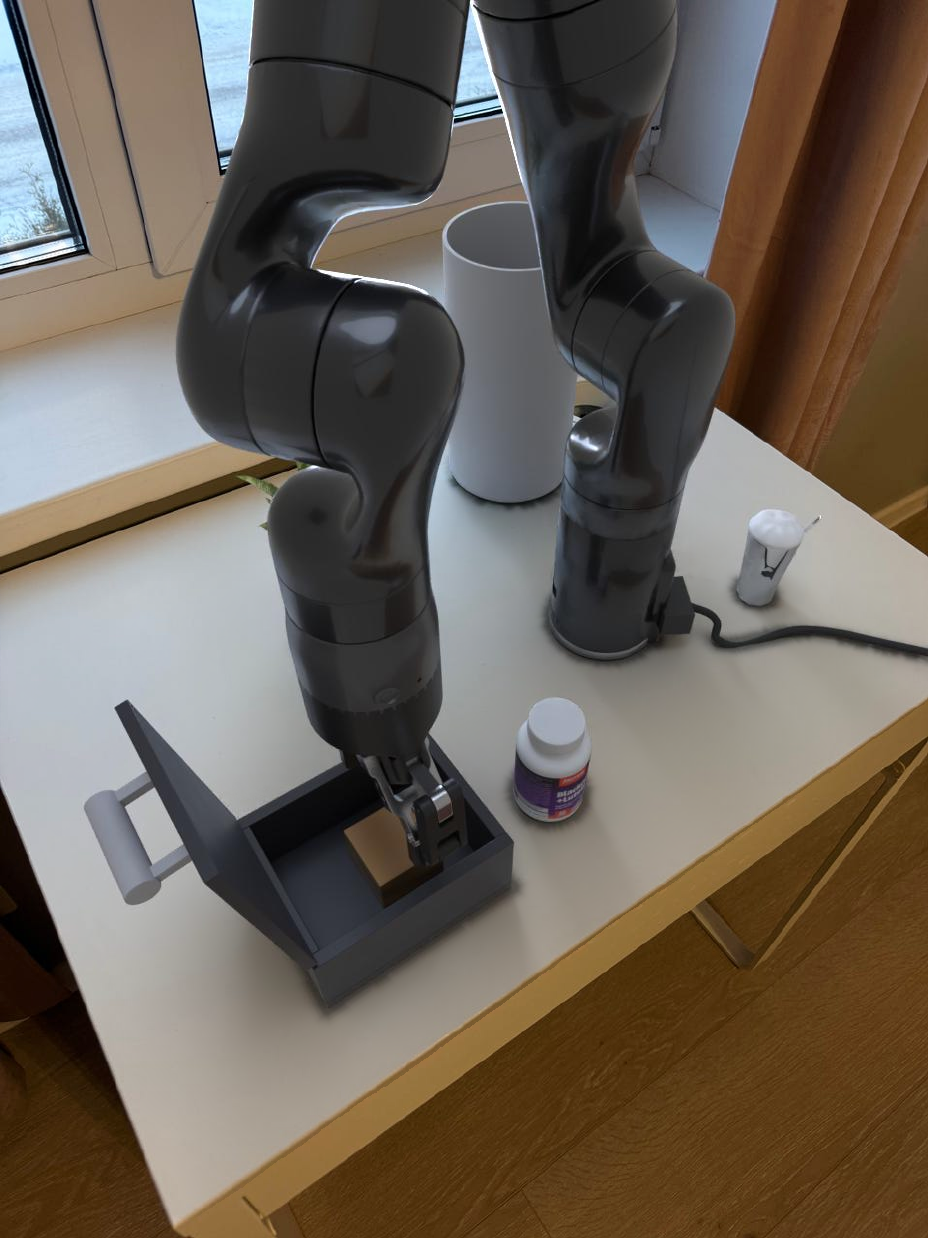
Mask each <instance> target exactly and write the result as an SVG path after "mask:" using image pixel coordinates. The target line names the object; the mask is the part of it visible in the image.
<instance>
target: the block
mask: <svg viewBox="0 0 928 1238" xmlns="http://www.w3.org/2000/svg"><path fill="white" fill-rule="evenodd" d="M411 816H412V818H413V820H414V823H416V817H415V814H414V813H413V812H412V811H411ZM344 836H345V840H346V844H347V848H348V852H349V855H350V857H351V858H352V860H353V861H354V863H355V864H356V866H357V868H358V869H359V871H360V872H361V874H362V875H363V877H364V878H365V880H366V881H367V883H368V885H369V886H370V888H371V889H372V891H373V892H374V894H375V895H376V897H377V899H378V900H379V902H380V903H381V905H382V906H383V908H385V907H387V906H388V905H390V904H392V903H393V902H395V901H396V900H398V899H399V898H401V897H403V896H404V895H406V894H407V893H409V892H410V891H412V890H414V889H415V888H417V887H418V886H420V885H421V884H423V883H424V882H426V881H428V880H429V879H431V878H432V877H434V876H435V875H437V874H439V873H440V872H442V871H443V870H444V867H443V859H442V860H441V861H439V862H437V863H436V864H434V865H433V866H431V865H428V866H427V867H425V868H424V866H423V865H421V866H419V867H415V866H414V864H413V863H412V861H411V860H410V858H409V855H408V847H407V840H406V833H405V831H404V828H403V826H402V824H401V822H400V819H399V817H395V816H394V815H393V814H391V813H390V812H389V811H388V810H386V809H385V807H383V808H382V809H380V810H378V811H376V812H375V813H373V814H371V815H370V816H368V817H366V818H365V819H363V820H361V821H359V822H358V823H356V824H354V825H353V826H351V827H349V828H348V829H346V830H344Z"/></svg>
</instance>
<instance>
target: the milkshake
mask: <svg viewBox="0 0 928 1238" xmlns="http://www.w3.org/2000/svg"><path fill="white" fill-rule="evenodd" d="M821 519H822V515H819V516H818V517H816V518H815V519H814V520H813V521H812V522H811V523H810V524H809V525H808V526H807V527H806V528H805V527H804V525H803V523H802V522H801V521H800V519H799V518H798V517H796V516H795V515H794V514H793V513H790V512H788V511H785V510H783V509H782V510H781V509H772V508H769V509H763V510H760V511H759V512H757V513H756V514H755V515H753V516H752V518H751V519H750V521H749V525H748V530H747V535H746V541H745V547H744V552H743V557H742V562H741V567H740V570H739V571H740V572H739V575H738V580H737V585H736V592H737V594H738V597H739V599H740V600H741V601H743V602H745V603H746V604H748V605H749V606H756V607H757V606H758V607H762V606H765V605H767V604H770V603H771V601H772V600H773V598H774V595H775V594H776V591H777V590H778V587H779V585H780V583H781V581H782V579H783V577H784V575H785V573H786V571H787V570H788V567H789V565H790V563H791V562H792V561H793V559H794V557H795V555H796V553H797V551H798V549H799V547H800V546H801V544H802V542H803V540H804V538H805V535H806V534H807V533H808V531H810V530H811V529H812V528H813V527H814V526H815V525H816V524H817V523H818V522H819V521H821ZM804 528H805V529H804Z"/></svg>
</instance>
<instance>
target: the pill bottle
mask: <svg viewBox="0 0 928 1238" xmlns="http://www.w3.org/2000/svg"><path fill="white" fill-rule="evenodd" d="M586 721H587V720H586V716H585V714H584V712H583V710H582V709H581V708H580V706H578V705H577V704H576V703H575V702H573V701H572V700H569V699H566V698H563V697H547V698H544V699H542V700H540V701H538V702H537V703H535V704H534V705H533V707H532V708H531V709H530V711H529V713H528V717H527V719H526V720H525V721H524V723H523V724H522V725H521V727H520V728H519V730H518V732H517V736H516V741H515V742H516V743H515V757H514V771H513V795H514V796H513V797H514V799H515V802H516V803H517V805H518V807H519V808H520V809H521V811H523V812H524V813H525V815H528V816H529V817H531V818H533V819H535V820H538V821H541V822H550V823H551V822H560V821H563V820H565V819H568V818H570V817H571V816H572V815H573V814H574V813H576V811H577V810H578V809H579V808H580V806H581V803H582V802H583V797H584V794H585V789H586V782H587V777H588V772H589V767H590V761H591V757H592V749H593V748H592V747H593V743H592V737H591V734H590V732H589V731H588V728H587V727H586V726H587V724H586V723H587V722H586Z"/></svg>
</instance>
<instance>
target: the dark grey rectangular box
mask: <svg viewBox="0 0 928 1238" xmlns="http://www.w3.org/2000/svg"><path fill="white" fill-rule="evenodd" d="M427 737H428V739H429V747H428V750H429V752H430V755H431V757H432V759H433V762H434V764H435V766H436V769H437V771H438V773H439V776H440V778H441V780H442V783H444V782H446V781H448V780H449V779H451V778H453V779H454V780H455V781H456V782H457V783H459V784H460V786H461V788H462V792H463V796H464V807H465V817H466V828H467V839H468V843H467V844H466V845H464V846H463V847H461V848H459V849H458V850H456V851H455V852H453V853H452V854H450V855H448V856H447V857H445V858H444V859H443V867H444V870H443V871H442V872H440V873H439V874H437V875H435V876H434V877H432V878H431V879H429V880H428V881H426V882H424V883H423V884H421V885H420V886H418V887H417V888H415V889H414V890H412V891H410V892H409V893H407V894H406V895H404V896H403V897H401V898H399V899H398V900H396V901H395V902H393V903H392V904H390V905H388V906H387V907H385V908H383V906H382V905H381V903H380V902H379V900H378V899H377V897H376V895H375V894H374V892H373V891H372V889H371V888H370V886H369V885H368V883H367V881H366V880H365V878H364V877H363V875H362V874H361V872H360V871H359V869H358V868H357V866H356V864H355V863H354V861H353V860H352V858H351V857H350V855H349V852H348V848H347V844H346V840H345V836H344V830H346V829H348V828H349V827H351V826H353V825H354V824H356V823H358V822H359V821H361V820H363V819H365V818H366V817H368V816H370V815H371V814H373V813H375V812H376V811H378V810H380V809H382V808H383V807H384V805H383V803H382V800H381V798H380V796H379V794H378V792H377V789H376V787H375V785H374V783H373V780H372V778H371V776H370V775H369V774H367V773H366V772H365V771H364V770H363V769H362V767H361V765H360V764H359V765H357V766H356V767H354V768H352V769H347V768H346V767H345V765H344V764H343V762H342V761H341V762H339V763H337V764H335V765H334V766H332V767H330V768H328V769H327V770H325V771H323V772H320V773H319V774H317V775H316V776H314V777H312V778H310V779H309V780H307V781H305V782H303V783H300V784H299V785H298V786H296V787H294V788H292V789H290V790H288V791H287V792H286V793H283V794H281V795H280V796H277V797H276V798H274V799H272V800H270V801H269V802H266V803H265V804H263V805H262V806H261V805H260V807H258V808H255V809H254V810H253V811H251V812H249V813H247V814H245V815H243V816H241V817H240V818H238V819H237V821H238V823H239V825H240V827H241V828H242V830H243V832H244V834H245V835H246V837H247V839H248V841H249V842H250V844H251V846H252V848H253V850H254V851H255V853H256V855H257V857H258V858H259V860H260V862H261V864H262V865H263V867H264V869H265V871H266V873H267V874H268V876H269V878H270V880H271V881H272V883H273V885H274V887H275V888H276V890H277V892H278V894H279V896H280V897H281V899H282V901H283V903H284V904H285V906H286V908H287V910H288V911H289V913H290V915H291V917H292V919H293V920H294V922H295V924H296V926H297V927H298V929H299V931H300V933H301V934H302V936H303V938H304V940H305V942H306V943H307V945H308V947H309V949H310V950H311V952H312V954H313V956H314V958H315V959H316V961H317V964H316V965H315V966H314V967H312V968H311V969H309V970H308V971H307V973H308V975H309V977H310V978H311V980H312V982H313V984H314V987H316V989H317V991H318V993H319V995H320V997H321V999H322V1000H323V1002H324V1004H325V1006H326V1007H327V1009H329V1008H331V1007H333V1006H334V1005H335V1004H338V1003H339V1002H340V1001H341V1000H343V999H345V998H346V997H348V996H349V995H350V994H352V993H353V992H355V991H356V990H358V989H360V988H361V987H362V986H364V985H365V984H367V983H369V982H370V981H371V980H373V979H374V978H376V977H378V976H379V975H381V974H382V973H383V972H385V971H386V970H388V969H390V968H391V967H392V966H394V965H396V964H397V963H398V962H400V961H402V960H403V959H406V957H408V956H409V955H411V954H412V953H413V952H416V951H417V950H418V949H420V948H422V947H423V946H425V945H426V944H427V943H429V942H430V941H432V940H433V939H435V938H437V937H438V936H439V935H441V934H442V933H444V932H445V931H447V930H449V929H450V928H452V927H453V926H455V925H456V924H458V923H459V922H461V921H462V920H464V919H465V918H467V917H468V916H469V915H471V914H473V913H474V912H476V911H477V910H479V909H480V908H482V907H483V906H485V905H487V904H488V903H489V902H491V901H492V900H494V899H496V898H497V897H498V896H500V895H502V894H503V893H504V892H506V891H507V890H509V889H510V888H511V887H512V879H513V866H514V865H513V864H514V848H515V846H514V845H515V841H514V839H512V837H511V836H510V835H509V833H508V831H506V830H505V828H504V827H503V826H502V825H501V823H500V821H498V820H497V818H496V817H495V815H494V814H493V813H492V812H491V811H490V809H489V808H488V807H487V805H486V804H485V803H484V801H483V800H482V799H481V798H480V796H478V795H479V794H477V793H476V791H475V790H474V788H473V787H472V786H471V785H470V784H469V783H468V781H467V780H466V778H464V776H463V774H461V772H460V771H459V769H458V768H457V767H456V766H455V764H454V763H453V762H452V761H451V759H450V758H449V757H448V756H447V754H446V753H445V752H444V750H443V749H442V748H441V747H440V745H439V744H438V743H437V741H436V740H435V739H434V737H433V736H432V735H431V734H430V732H429V733H428V735H427ZM412 785H413V783H412V782H411V783H409V784H389V786H390V788H391V790H392V792H393V795H397V794H399V793H400V792H402V791H404V790H405V789H407V788H409V787H410V786H412Z"/></svg>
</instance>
